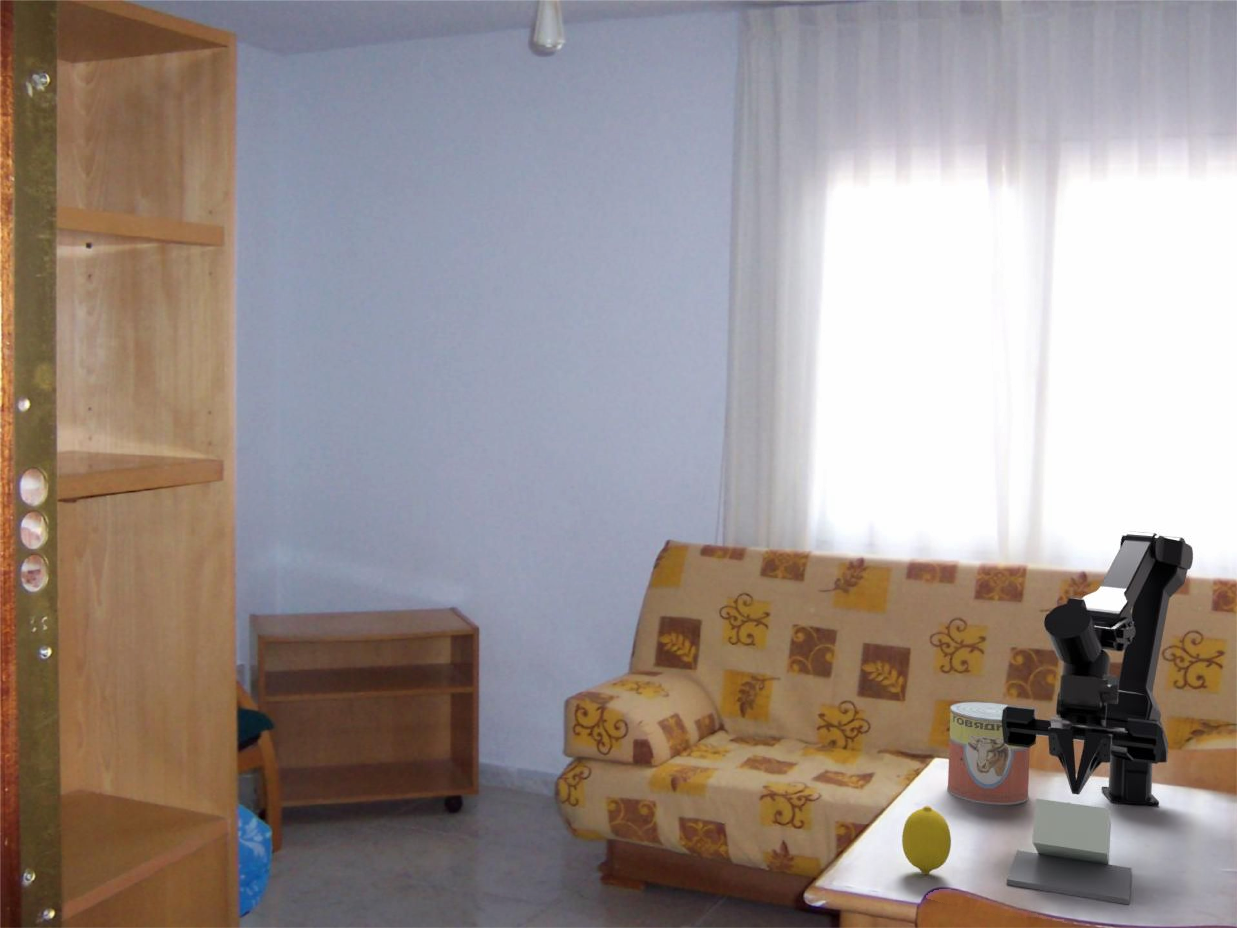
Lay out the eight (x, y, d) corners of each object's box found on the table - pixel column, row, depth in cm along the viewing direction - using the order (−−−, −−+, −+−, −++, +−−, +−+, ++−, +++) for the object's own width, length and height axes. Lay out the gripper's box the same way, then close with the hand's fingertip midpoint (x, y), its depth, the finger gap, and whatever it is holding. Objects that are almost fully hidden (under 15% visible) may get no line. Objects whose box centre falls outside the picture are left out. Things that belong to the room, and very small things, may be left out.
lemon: (941, 886, 142) (943, 816, 141) (894, 875, 145) (896, 807, 144) (955, 872, 146) (958, 804, 146) (910, 862, 149) (912, 796, 149)
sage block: (1041, 813, 155) (1035, 798, 145) (1110, 823, 151) (1109, 808, 142) (1039, 854, 153) (1032, 842, 144) (1108, 865, 150) (1106, 853, 140)
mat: (1017, 854, 153) (1017, 850, 153) (1131, 872, 148) (1131, 867, 148) (1006, 884, 143) (1006, 878, 143) (1128, 904, 138) (1129, 898, 138)
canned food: (945, 799, 176) (948, 715, 175) (948, 778, 186) (951, 698, 186) (1029, 808, 172) (1032, 722, 172) (1027, 786, 183) (1030, 705, 183)
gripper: (1006, 642, 160) (991, 746, 150) (1164, 656, 152) (1160, 767, 142) (1010, 692, 167) (997, 794, 157) (1162, 708, 159) (1158, 817, 150)
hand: (1075, 792), depth 151 cm, fingers closed
